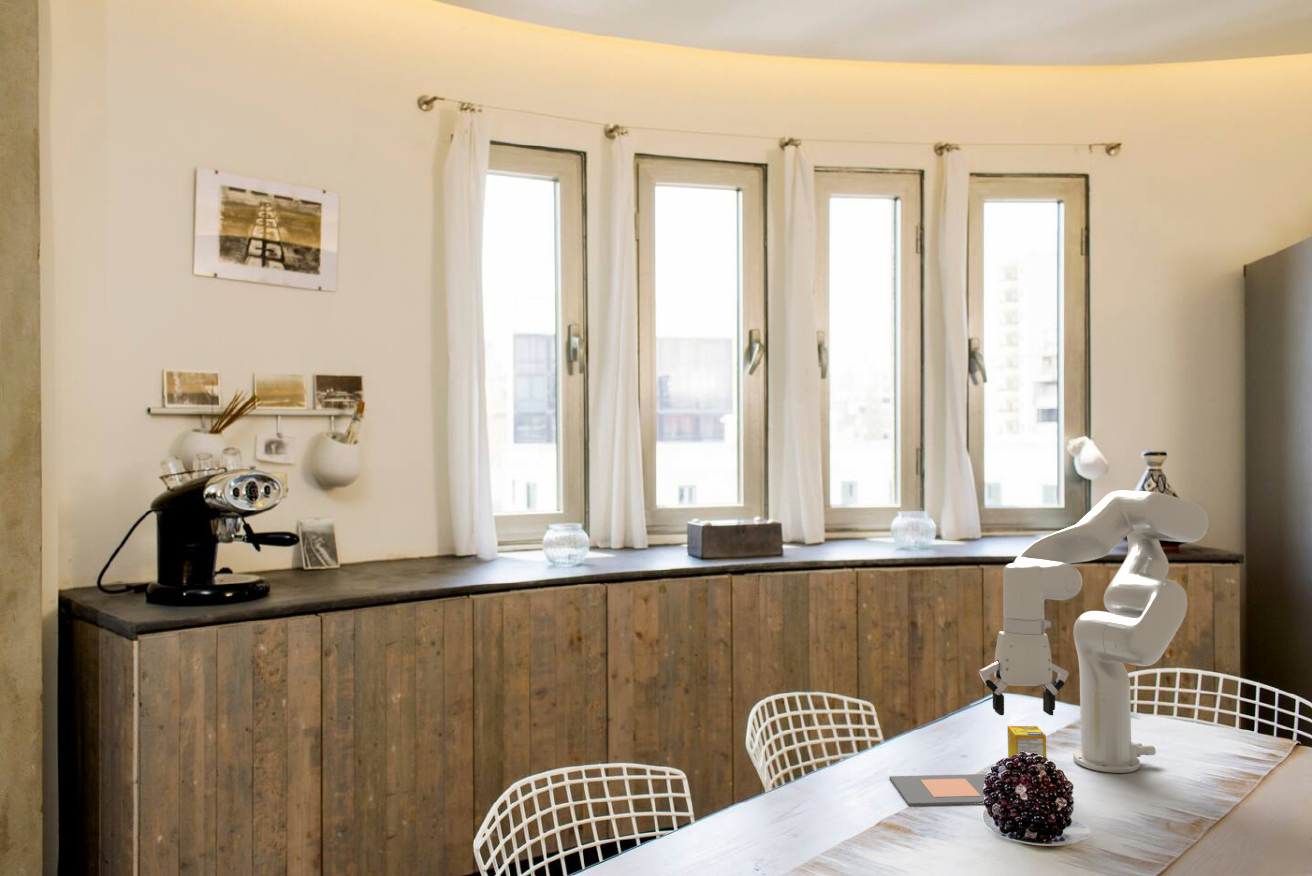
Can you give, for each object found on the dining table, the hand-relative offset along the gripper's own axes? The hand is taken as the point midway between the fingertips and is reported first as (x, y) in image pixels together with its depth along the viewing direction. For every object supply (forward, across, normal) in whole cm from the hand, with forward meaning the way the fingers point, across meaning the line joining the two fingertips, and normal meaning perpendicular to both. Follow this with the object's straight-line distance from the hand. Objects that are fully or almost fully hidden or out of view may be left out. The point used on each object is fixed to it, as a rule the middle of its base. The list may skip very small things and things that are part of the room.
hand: (1023, 713), depth 185 cm
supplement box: (+14, -1, 0) cm, 14 cm away
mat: (+15, +15, +2) cm, 21 cm away
